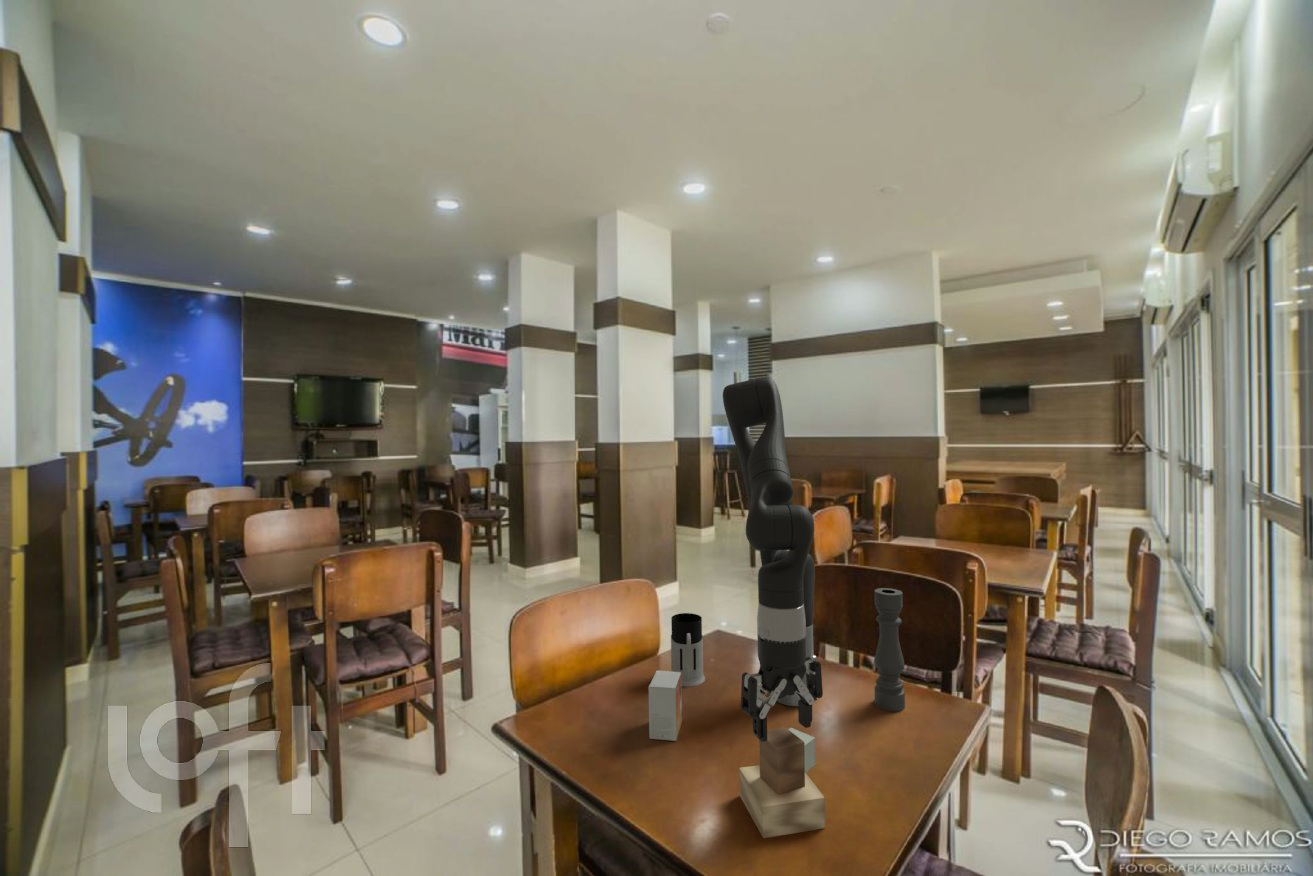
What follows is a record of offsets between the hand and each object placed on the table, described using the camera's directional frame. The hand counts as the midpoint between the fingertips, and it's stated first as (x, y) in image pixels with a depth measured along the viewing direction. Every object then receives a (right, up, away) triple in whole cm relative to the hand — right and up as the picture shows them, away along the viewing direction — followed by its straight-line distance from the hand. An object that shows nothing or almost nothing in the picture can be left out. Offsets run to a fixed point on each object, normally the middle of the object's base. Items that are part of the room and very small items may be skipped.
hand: (783, 732), depth 88 cm
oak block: (0, -13, 0) cm, 13 cm away
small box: (-18, -13, +25) cm, 33 cm away
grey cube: (+5, -13, +12) cm, 18 cm away
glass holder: (-13, -13, +46) cm, 49 cm away
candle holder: (+31, -12, +34) cm, 48 cm away
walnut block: (0, -8, 0) cm, 8 cm away
